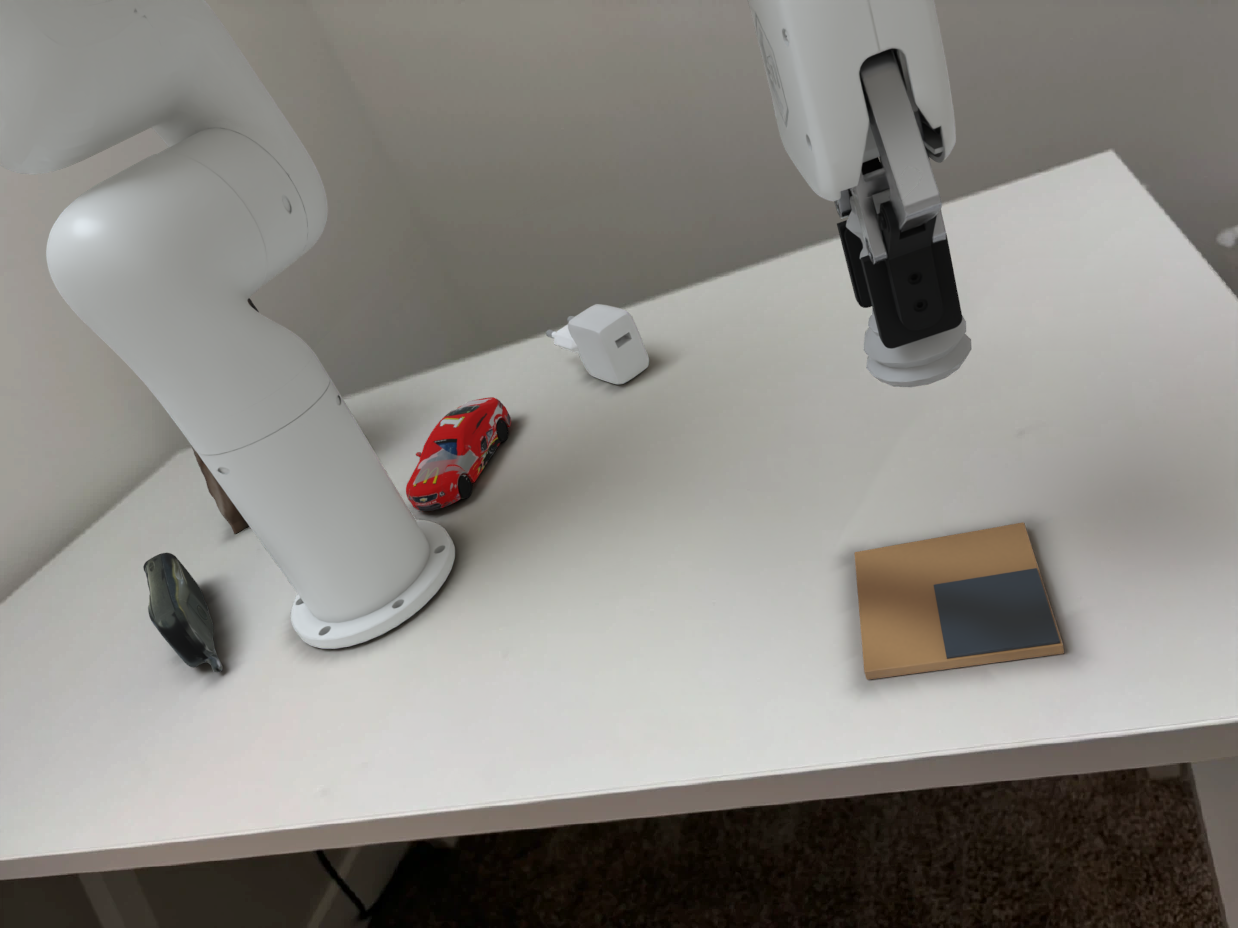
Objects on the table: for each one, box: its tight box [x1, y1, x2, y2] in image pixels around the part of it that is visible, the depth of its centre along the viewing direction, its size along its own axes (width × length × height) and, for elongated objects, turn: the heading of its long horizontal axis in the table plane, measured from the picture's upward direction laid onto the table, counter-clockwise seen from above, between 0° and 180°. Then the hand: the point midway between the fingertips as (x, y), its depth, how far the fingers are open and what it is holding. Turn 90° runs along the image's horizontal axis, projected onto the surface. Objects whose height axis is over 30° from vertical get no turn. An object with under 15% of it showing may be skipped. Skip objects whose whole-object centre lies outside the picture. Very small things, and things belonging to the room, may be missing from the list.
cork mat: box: [853, 521, 1065, 681], centre depth 48 cm, size 9×9×1 cm
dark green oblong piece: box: [142, 552, 223, 673], centre depth 72 cm, size 5×3×15 cm
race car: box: [405, 396, 512, 512], centre depth 79 cm, size 13×5×4 cm, turn 160°
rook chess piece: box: [846, 189, 972, 388], centre depth 39 cm, size 4×4×8 cm
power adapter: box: [545, 303, 650, 385], centre depth 85 cm, size 11×5×6 cm, turn 36°
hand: (906, 310), depth 40 cm, fingers closed on rook chess piece, 3 cm apart
